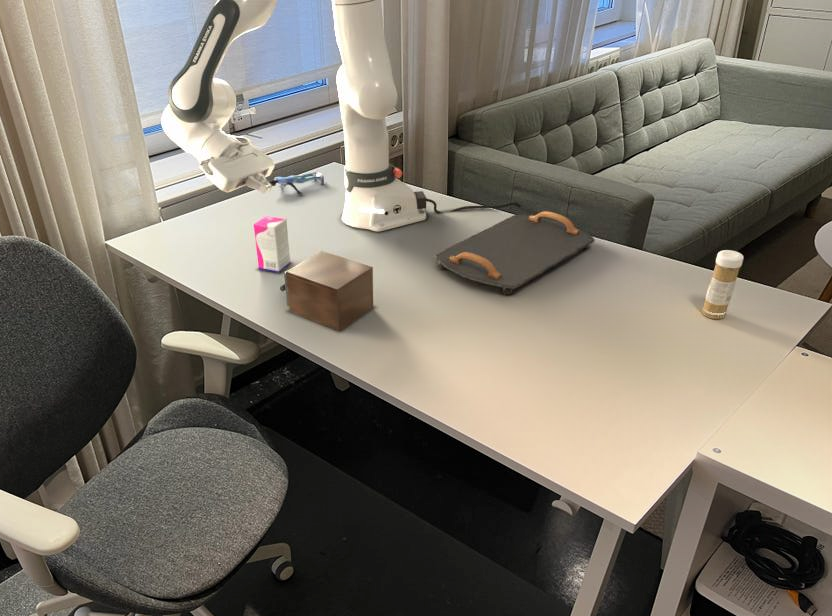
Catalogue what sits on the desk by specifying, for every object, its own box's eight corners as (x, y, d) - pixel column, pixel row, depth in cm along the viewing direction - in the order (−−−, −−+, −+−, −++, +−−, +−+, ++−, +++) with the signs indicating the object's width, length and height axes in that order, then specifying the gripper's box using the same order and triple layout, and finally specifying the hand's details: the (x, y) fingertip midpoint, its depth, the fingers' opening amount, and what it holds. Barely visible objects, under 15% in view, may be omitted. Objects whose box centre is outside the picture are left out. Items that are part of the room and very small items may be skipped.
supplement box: (291, 263, 169) (287, 218, 162) (279, 273, 165) (274, 228, 158) (270, 259, 171) (265, 214, 165) (257, 269, 167) (252, 224, 160)
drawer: (273, 300, 153) (270, 267, 148) (305, 281, 159) (302, 249, 155) (332, 322, 144) (330, 289, 140) (363, 301, 151) (362, 269, 146)
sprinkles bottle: (712, 306, 146) (729, 247, 138) (730, 316, 142) (749, 256, 135) (695, 312, 144) (712, 252, 137) (714, 322, 141) (732, 261, 133)
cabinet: (289, 311, 150) (285, 271, 145) (324, 289, 157) (321, 250, 152) (339, 331, 143) (337, 289, 138) (373, 307, 150) (372, 266, 145)
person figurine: (311, 182, 217) (259, 188, 207) (311, 168, 215) (259, 173, 205) (331, 192, 210) (278, 199, 200) (332, 177, 207) (279, 183, 198)
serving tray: (522, 220, 185) (524, 197, 181) (602, 245, 171) (606, 221, 167) (423, 270, 164) (424, 246, 160) (505, 304, 149) (508, 278, 146)
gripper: (199, 151, 153) (249, 188, 152) (249, 136, 170) (294, 169, 168) (190, 175, 157) (238, 212, 155) (239, 158, 173) (284, 191, 172)
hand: (268, 190), depth 162 cm, fingers closed
